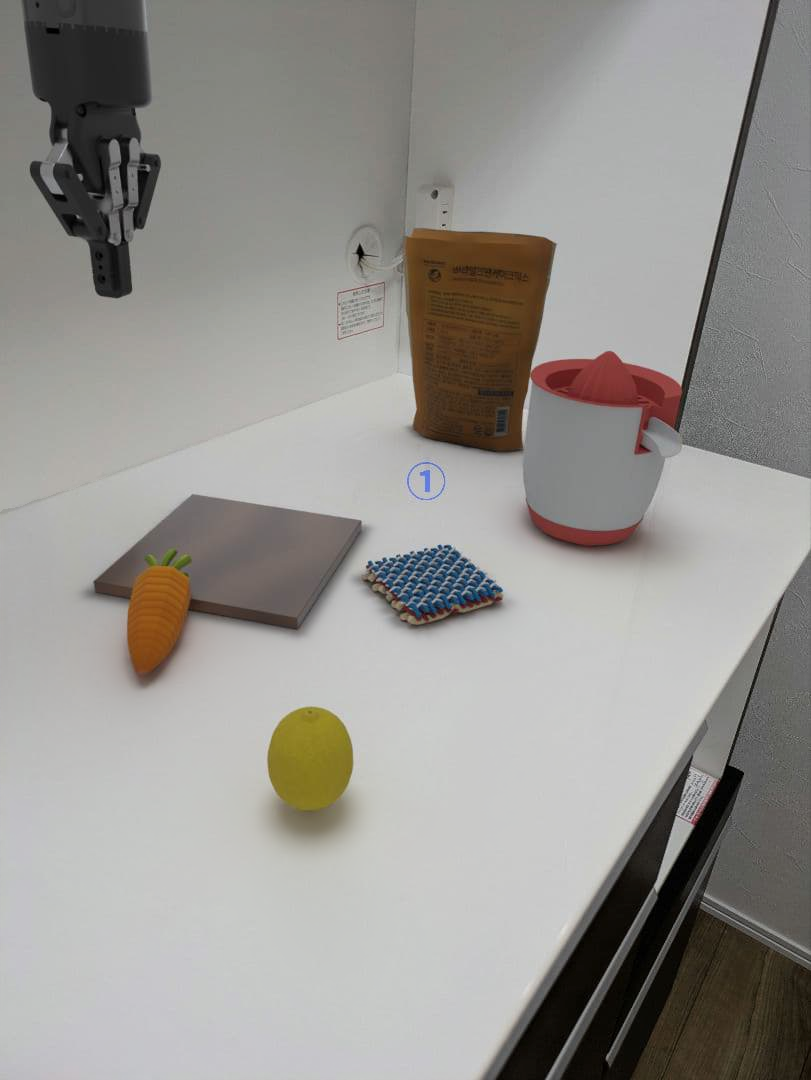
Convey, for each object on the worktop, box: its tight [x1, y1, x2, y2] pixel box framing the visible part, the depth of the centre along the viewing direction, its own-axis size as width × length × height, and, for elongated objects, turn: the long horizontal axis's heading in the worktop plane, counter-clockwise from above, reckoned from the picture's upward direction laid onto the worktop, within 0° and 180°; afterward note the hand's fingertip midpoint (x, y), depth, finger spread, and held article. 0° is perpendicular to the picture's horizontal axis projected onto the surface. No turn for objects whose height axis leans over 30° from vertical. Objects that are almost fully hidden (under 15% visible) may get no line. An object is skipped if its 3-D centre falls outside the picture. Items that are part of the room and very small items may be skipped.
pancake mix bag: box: [401, 227, 558, 453], centre depth 109 cm, size 7×19×28 cm, turn 67°
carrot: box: [126, 549, 192, 676], centre depth 71 cm, size 5×5×15 cm
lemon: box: [266, 706, 354, 812], centre depth 54 cm, size 6×6×8 cm
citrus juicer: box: [522, 350, 683, 547], centre depth 89 cm, size 16×17×20 cm
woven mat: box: [361, 543, 504, 626], centre depth 80 cm, size 10×11×2 cm
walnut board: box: [93, 493, 363, 630], centre depth 84 cm, size 20×20×1 cm
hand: (114, 295), depth 61 cm, fingers closed
